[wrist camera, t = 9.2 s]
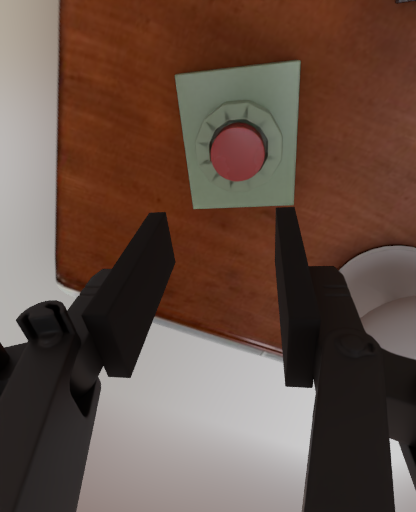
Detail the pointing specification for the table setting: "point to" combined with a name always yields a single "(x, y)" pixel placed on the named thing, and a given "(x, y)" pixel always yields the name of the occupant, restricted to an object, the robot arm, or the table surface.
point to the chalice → (386, 296)
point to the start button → (238, 152)
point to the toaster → (401, 0)
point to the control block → (241, 111)
